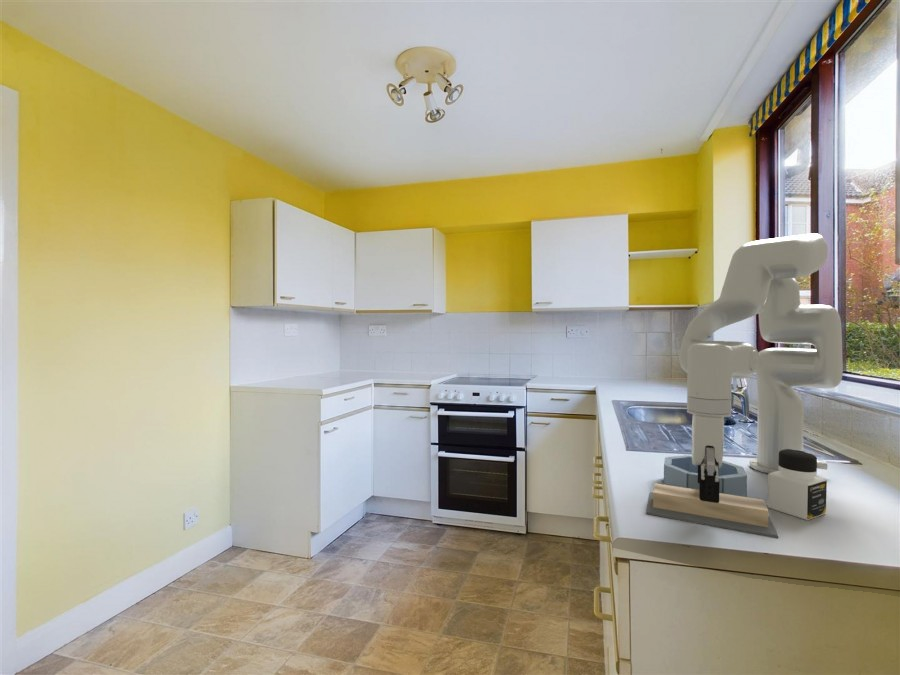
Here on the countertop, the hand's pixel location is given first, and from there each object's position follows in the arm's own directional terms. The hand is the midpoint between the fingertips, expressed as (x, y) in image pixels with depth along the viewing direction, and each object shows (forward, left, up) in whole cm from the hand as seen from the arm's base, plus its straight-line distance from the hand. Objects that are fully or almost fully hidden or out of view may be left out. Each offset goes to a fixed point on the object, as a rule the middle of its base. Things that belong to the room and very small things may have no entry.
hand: (707, 492), depth 87 cm
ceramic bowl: (0, -16, -4) cm, 16 cm away
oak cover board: (0, 0, -4) cm, 4 cm away
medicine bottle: (-16, -10, -4) cm, 19 cm away
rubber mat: (0, 0, -4) cm, 4 cm away
